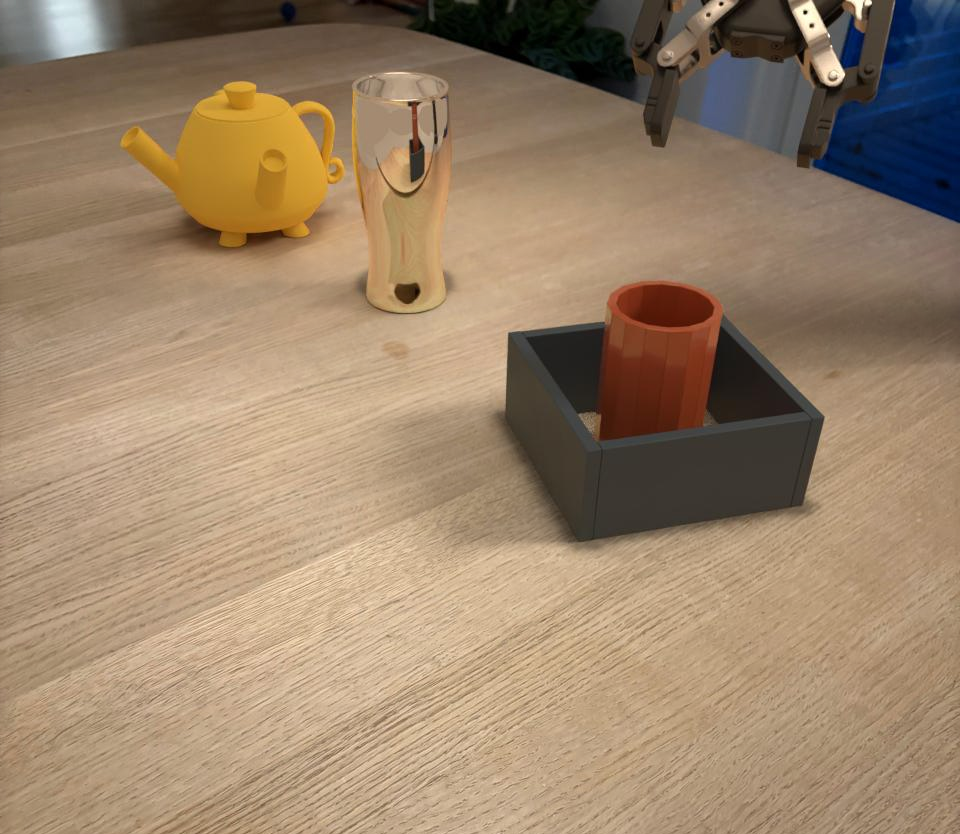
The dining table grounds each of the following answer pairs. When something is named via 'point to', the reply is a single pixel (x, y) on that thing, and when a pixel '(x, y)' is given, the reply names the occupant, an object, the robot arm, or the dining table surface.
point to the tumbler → (656, 359)
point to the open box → (659, 438)
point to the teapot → (245, 163)
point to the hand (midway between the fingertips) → (728, 151)
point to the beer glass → (403, 184)
